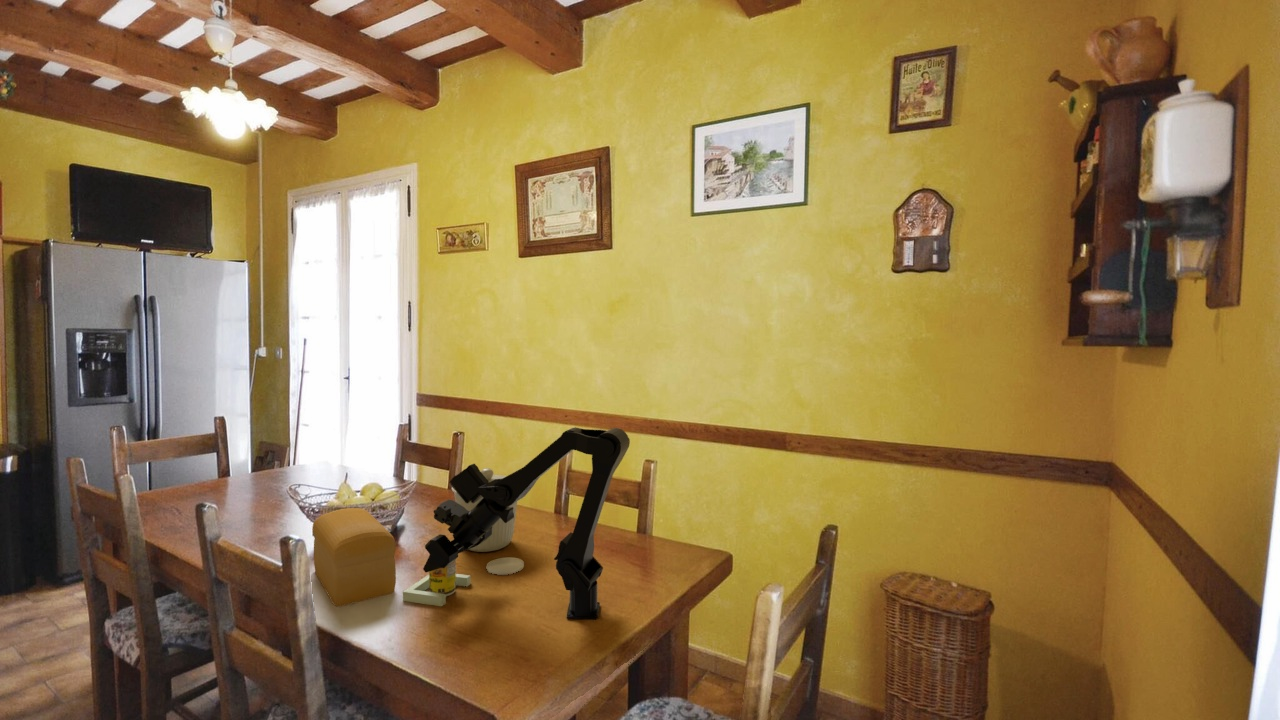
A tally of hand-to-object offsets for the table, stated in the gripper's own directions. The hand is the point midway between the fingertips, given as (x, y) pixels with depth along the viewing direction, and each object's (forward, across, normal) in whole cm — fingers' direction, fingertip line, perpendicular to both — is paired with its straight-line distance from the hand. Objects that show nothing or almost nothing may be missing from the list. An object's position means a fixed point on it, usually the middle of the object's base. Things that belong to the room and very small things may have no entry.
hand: (437, 562), depth 134 cm
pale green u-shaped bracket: (+5, 0, +5) cm, 7 cm away
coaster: (-1, -16, +10) cm, 20 cm away
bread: (+21, 0, -11) cm, 23 cm away
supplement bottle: (+4, 0, +6) cm, 7 cm away
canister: (+8, -29, +2) cm, 30 cm away
